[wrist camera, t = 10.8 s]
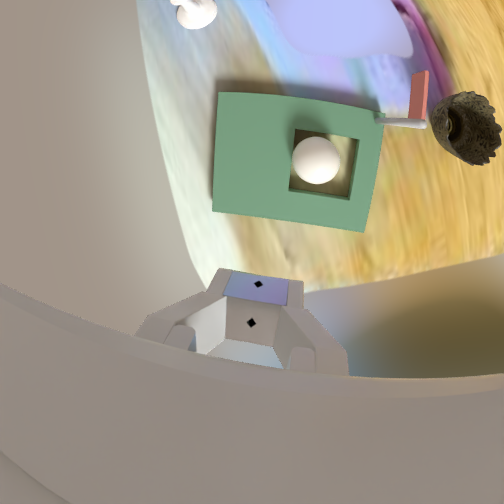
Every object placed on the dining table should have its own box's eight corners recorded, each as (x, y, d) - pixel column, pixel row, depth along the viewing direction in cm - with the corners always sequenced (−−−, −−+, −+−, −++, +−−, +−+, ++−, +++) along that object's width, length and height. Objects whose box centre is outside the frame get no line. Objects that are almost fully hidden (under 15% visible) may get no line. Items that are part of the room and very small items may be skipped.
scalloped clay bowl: (405, 104, 25) (435, 102, 18) (451, 87, 22) (486, 83, 15) (429, 162, 27) (462, 177, 20) (472, 143, 25) (509, 153, 18)
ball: (349, 136, 26) (327, 148, 31) (303, 125, 25) (287, 140, 29) (348, 184, 26) (326, 189, 31) (301, 175, 25) (284, 183, 30)
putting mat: (224, 68, 27) (175, 40, 15) (384, 89, 25) (436, 74, 13) (215, 207, 35) (171, 258, 23) (361, 228, 33) (390, 290, 21)
